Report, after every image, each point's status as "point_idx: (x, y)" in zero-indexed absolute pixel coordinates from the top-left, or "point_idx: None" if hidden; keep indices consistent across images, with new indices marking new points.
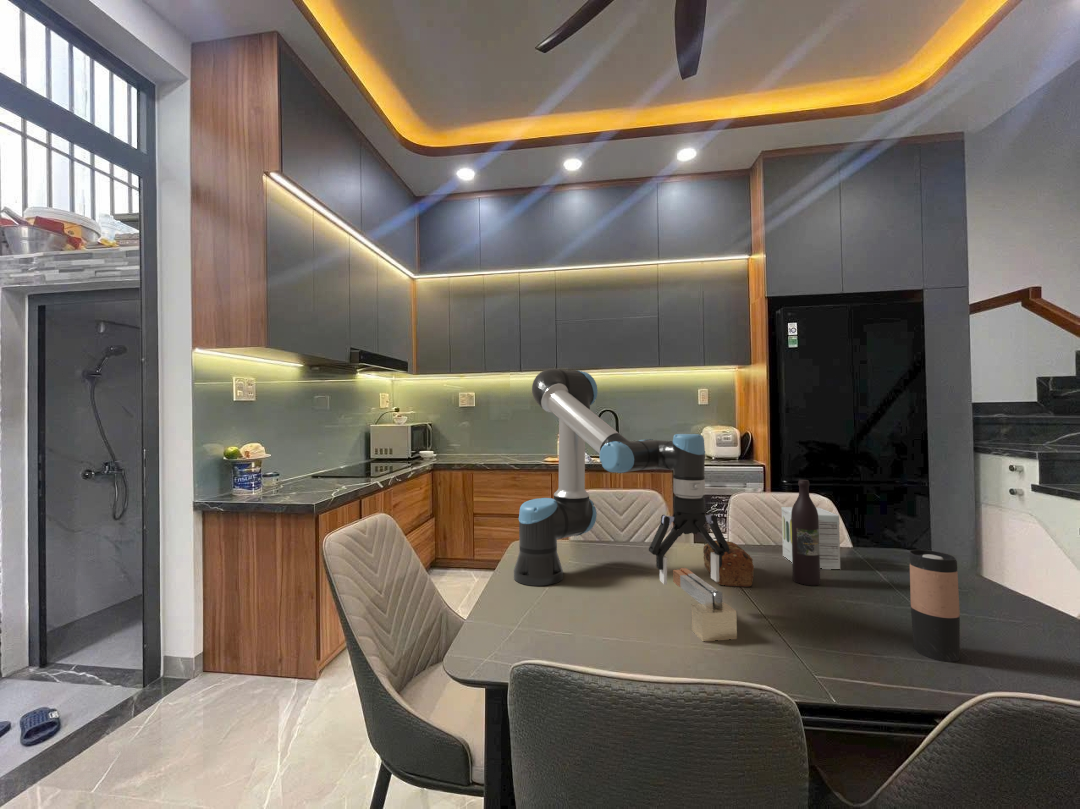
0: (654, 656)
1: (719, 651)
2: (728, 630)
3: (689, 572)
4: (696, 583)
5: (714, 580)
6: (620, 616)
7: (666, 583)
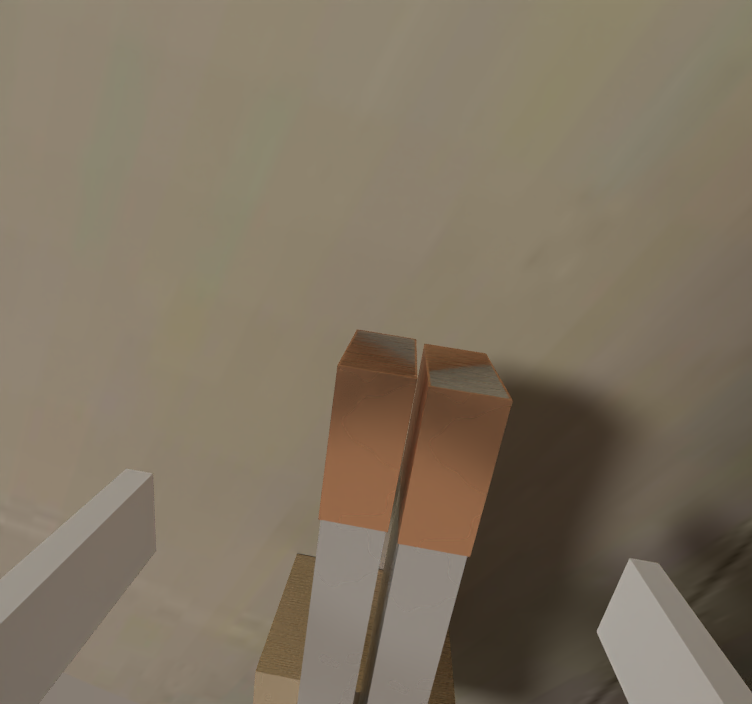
0: None
1: None
2: None
3: (441, 529)
4: (344, 697)
5: (606, 611)
6: (34, 334)
7: (147, 555)
